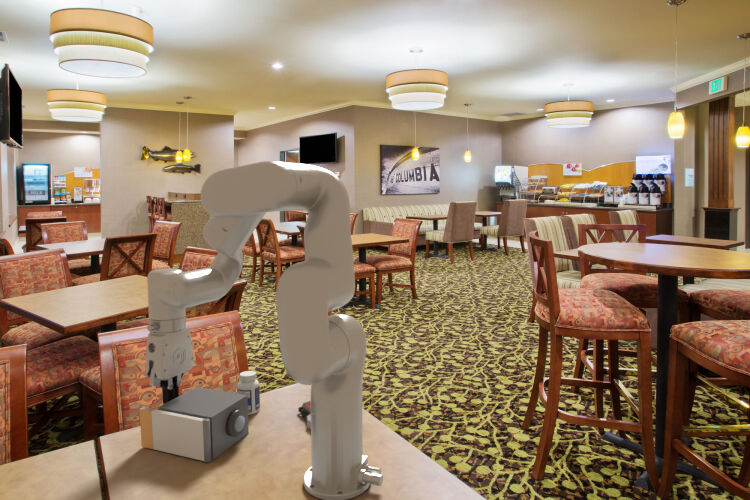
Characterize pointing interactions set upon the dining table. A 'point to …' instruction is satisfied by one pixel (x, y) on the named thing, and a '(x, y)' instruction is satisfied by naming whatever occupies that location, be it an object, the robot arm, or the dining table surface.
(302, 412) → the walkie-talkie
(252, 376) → the pill bottle
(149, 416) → the side door
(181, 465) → the dining table surface
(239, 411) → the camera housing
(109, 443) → the dining table surface
